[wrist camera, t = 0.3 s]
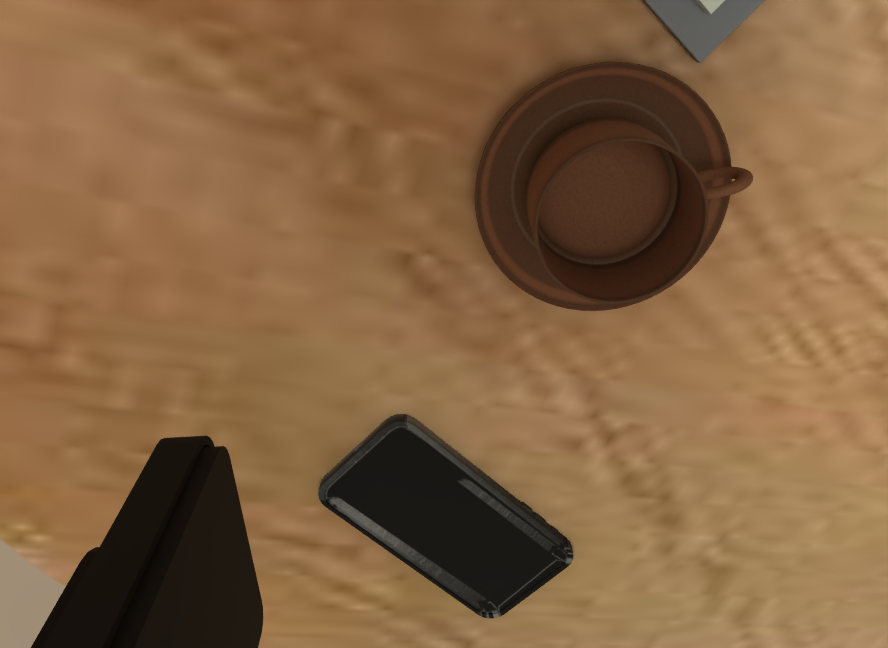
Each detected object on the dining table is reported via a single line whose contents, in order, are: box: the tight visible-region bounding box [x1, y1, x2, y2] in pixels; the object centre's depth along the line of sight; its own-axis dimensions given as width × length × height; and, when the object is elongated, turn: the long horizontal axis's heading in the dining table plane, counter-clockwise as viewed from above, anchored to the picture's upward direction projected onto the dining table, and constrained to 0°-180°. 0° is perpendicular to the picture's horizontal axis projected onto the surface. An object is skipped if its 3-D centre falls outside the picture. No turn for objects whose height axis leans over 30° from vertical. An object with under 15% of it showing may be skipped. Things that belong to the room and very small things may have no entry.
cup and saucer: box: [475, 62, 753, 311], centre depth 36 cm, size 12×12×6 cm
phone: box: [318, 414, 573, 618], centre depth 48 cm, size 8×1×15 cm
